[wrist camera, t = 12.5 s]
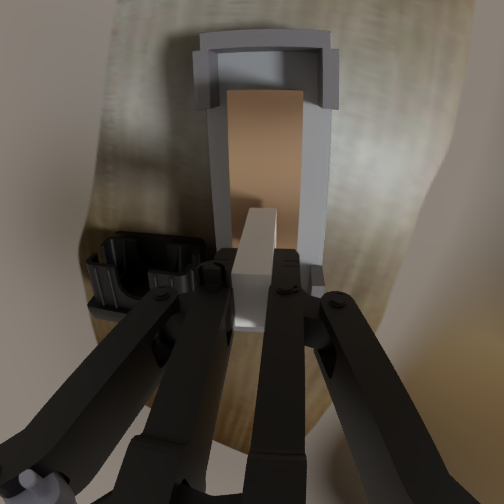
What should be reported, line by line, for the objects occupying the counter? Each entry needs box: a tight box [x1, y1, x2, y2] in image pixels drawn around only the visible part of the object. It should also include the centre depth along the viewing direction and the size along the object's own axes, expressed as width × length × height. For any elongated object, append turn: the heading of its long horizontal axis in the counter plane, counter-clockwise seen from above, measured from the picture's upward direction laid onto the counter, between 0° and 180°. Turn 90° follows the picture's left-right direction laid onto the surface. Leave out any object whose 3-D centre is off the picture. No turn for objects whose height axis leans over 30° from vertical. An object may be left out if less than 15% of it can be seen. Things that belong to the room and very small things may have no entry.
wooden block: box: [227, 89, 303, 251], centre depth 22 cm, size 16×4×6 cm, turn 1°
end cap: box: [86, 231, 205, 323], centre depth 27 cm, size 10×7×7 cm
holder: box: [192, 29, 339, 332], centre depth 23 cm, size 24×9×4 cm, turn 1°
